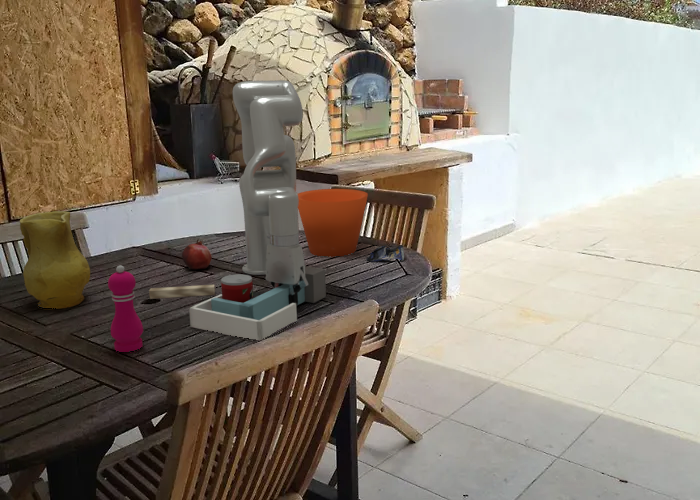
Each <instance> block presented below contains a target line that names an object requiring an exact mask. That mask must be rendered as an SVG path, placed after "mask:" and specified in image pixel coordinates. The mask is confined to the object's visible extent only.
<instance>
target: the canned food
mask: <svg viewBox="0 0 700 500" xmlns="http://www.w3.org/2000/svg"><path fill="white" fill-rule="evenodd" d="M220 283H221V284H220V286H221V287H220V288H221V294H222V299H225V300H230V301H236V302H241V303H244V302H246V301H249V300H251V299H253V298H254V284H253V283H254V281H253V278H252V276H251V275H250V274H241V273H237V274H235V273H234V274H229V275H225V276H223V277H222V278H221V279H220Z"/></svg>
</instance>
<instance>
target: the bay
mask: <svg viewBox="0 0 700 500" xmlns="http://www.w3.org/2000/svg"><path fill="white" fill-rule="evenodd" d="M213 298H220V299H222V293H220V294H217V295H216V296H214V297H211V298H209V299H206V300H204V301H202V302H200V303H197V304H194V305H193V306H191V307H188V310H189V311H188V312H189V323H190V324H189V325H190V326H189V327H191V328H195V329H198V330H204V331H207V330H208V332H212V331H214V332H213V333H216V332H218V333H217V334H221V333H222V334H221V335H226V336H230V335H231V337H235V336H237V337H236V338H239V337H243V338H242V339H244V338H249V339H256V340H262V339H263V338H264V339H265V337H267V336H270V335H271V334H272V333H274V332H276V331H277V330H279V329H281V328H283V327H285V326H287V325H288V324H290V323H292V322H294V321H297V322H298V317H297V316H298V314H297V313H298V312H297V307H296V303H292V304H290V305H288V306H286V307H284V308H282V309H280V310H278V311H276V312H274V313H272V314H270V315H268V316H266V317H264V318H262V319H261V320H255V319H250V318H245V317H240V316H235V315H230V314H225V313H220V312H215V311H212V305H211V299H213Z"/></svg>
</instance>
